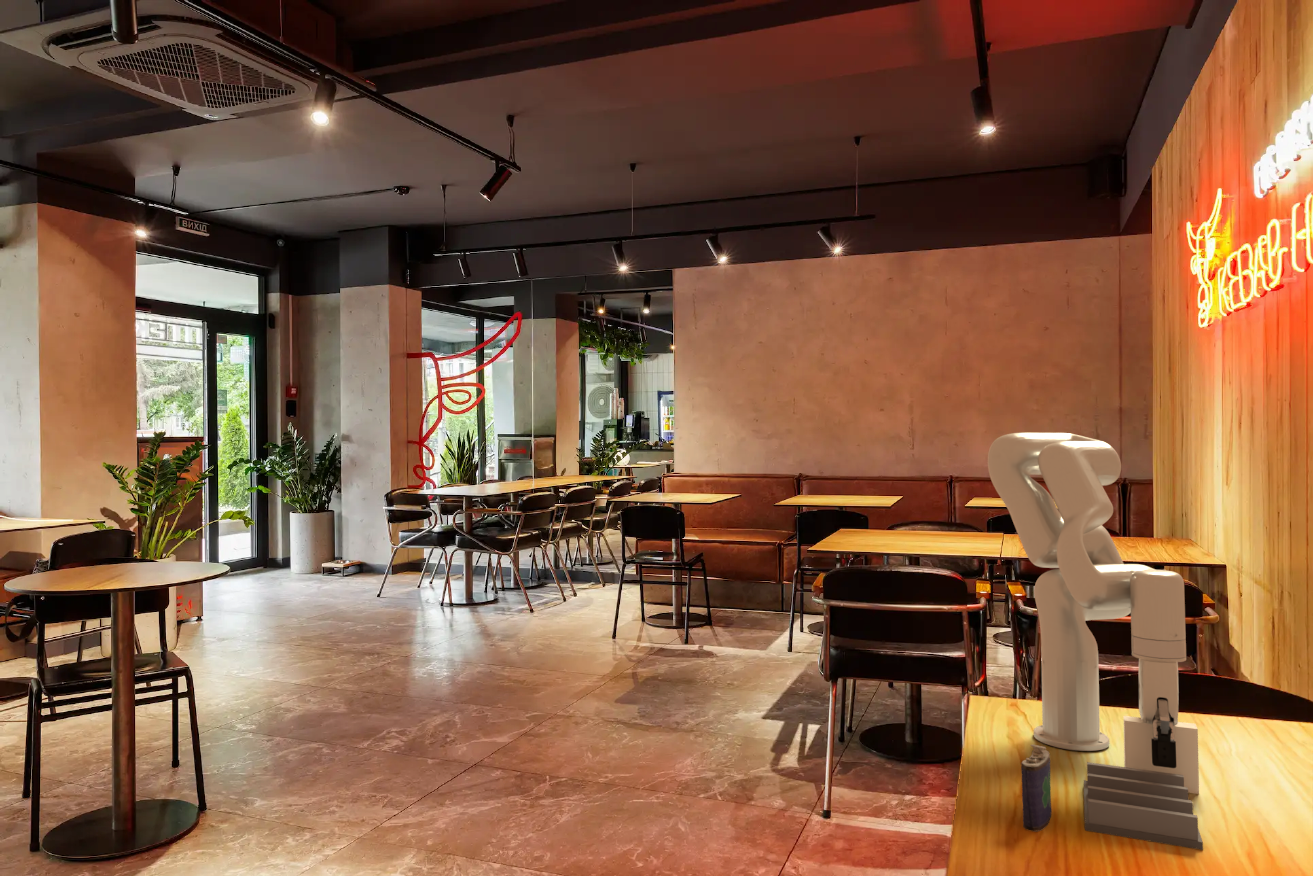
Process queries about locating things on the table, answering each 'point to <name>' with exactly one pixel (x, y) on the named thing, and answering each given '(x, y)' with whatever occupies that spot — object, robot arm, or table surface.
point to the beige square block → (1141, 750)
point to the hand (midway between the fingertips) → (1161, 757)
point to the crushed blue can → (1036, 789)
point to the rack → (1140, 805)
